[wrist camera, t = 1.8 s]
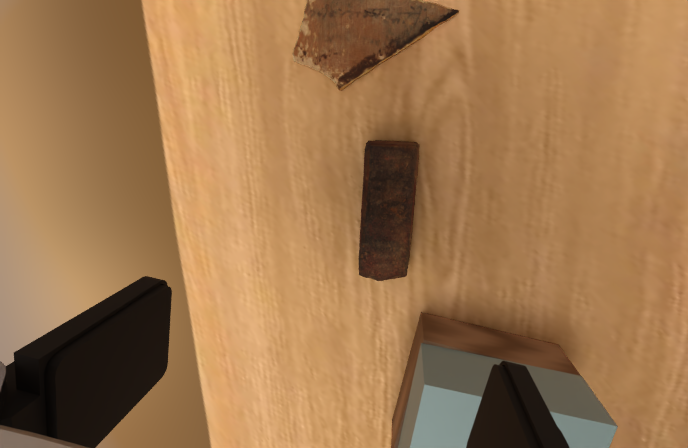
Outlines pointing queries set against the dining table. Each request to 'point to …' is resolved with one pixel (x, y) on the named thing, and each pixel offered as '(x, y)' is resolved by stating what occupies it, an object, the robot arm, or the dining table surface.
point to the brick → (387, 208)
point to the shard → (361, 34)
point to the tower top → (466, 393)
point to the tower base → (474, 342)
